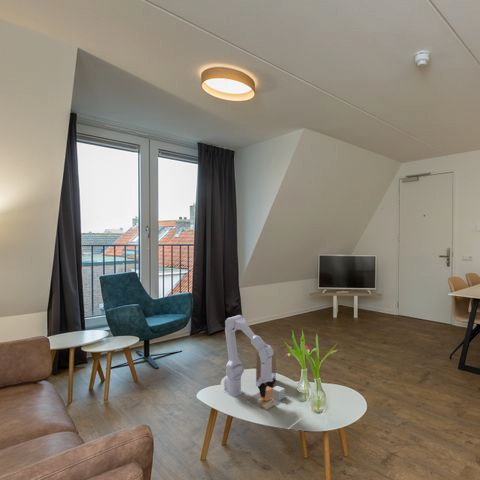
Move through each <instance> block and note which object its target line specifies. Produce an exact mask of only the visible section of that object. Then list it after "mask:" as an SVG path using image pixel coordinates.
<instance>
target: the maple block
mask: <svg viewBox="0 0 480 480" xmlns="http://www.w3.org/2000/svg"><path fill="white" fill-rule="evenodd" d="M258 405H259V406H261V407H263V408H265V409H264V410H266V409H268V408H270V407H271V406H273V405H274V399H272V398H271V399H269V400H268V401H266V400H264V399H261V398H260V399H258ZM259 406H258V407H259ZM261 407H260V408H261ZM263 408H262V409H263Z"/></svg>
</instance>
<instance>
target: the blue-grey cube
mask: <svg viewBox="0 0 480 480" xmlns="http://www.w3.org/2000/svg"><path fill="white" fill-rule="evenodd" d="M284 396H285V388H284V387H281V386H280V385H276V386H273V398H274V399H276V400H281V399H283V398H284Z"/></svg>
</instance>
